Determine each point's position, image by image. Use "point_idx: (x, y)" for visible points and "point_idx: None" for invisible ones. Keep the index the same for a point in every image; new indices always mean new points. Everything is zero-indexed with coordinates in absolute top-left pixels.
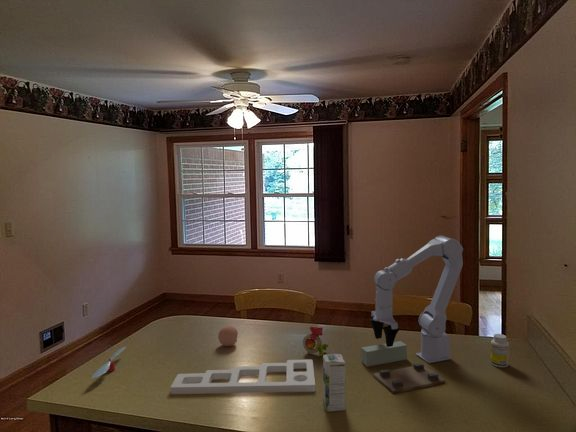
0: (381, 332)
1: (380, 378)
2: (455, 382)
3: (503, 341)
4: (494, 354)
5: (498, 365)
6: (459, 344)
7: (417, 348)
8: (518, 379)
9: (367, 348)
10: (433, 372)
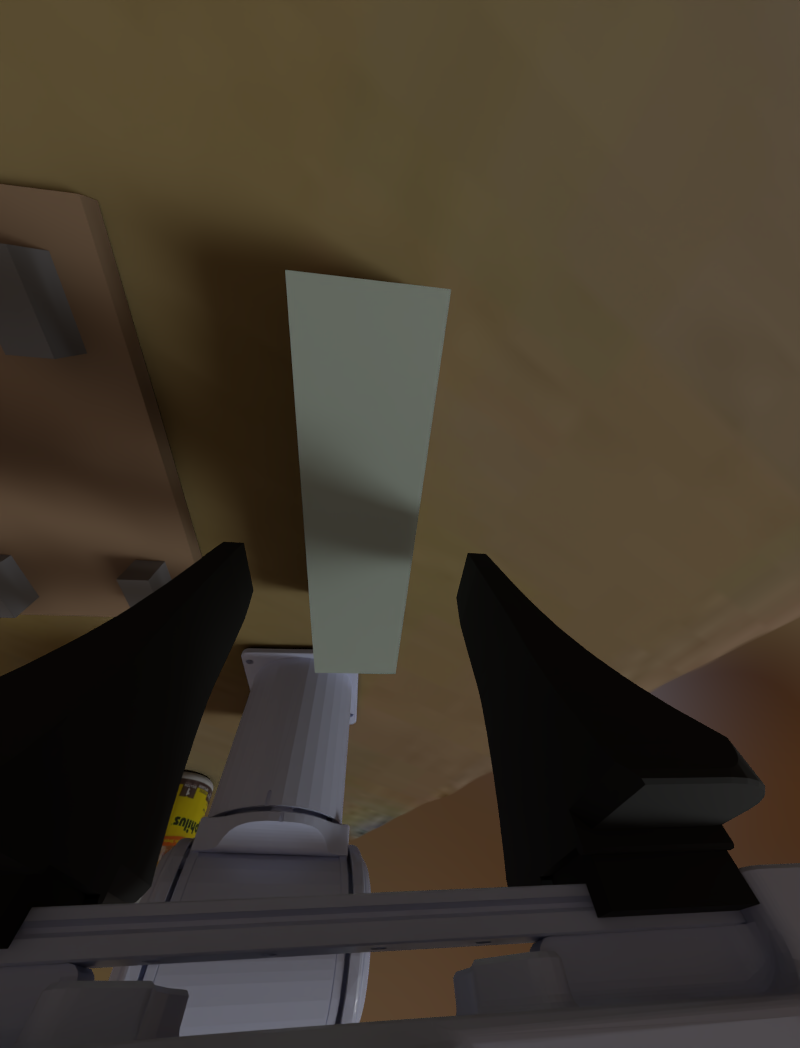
0: (470, 649)
1: None
2: (19, 635)
3: None
4: None
5: None
6: (372, 774)
7: (416, 681)
8: None
9: (384, 354)
10: (102, 614)
